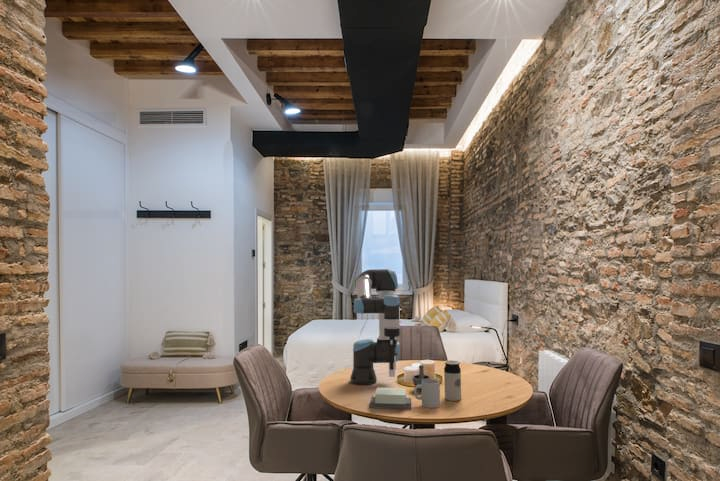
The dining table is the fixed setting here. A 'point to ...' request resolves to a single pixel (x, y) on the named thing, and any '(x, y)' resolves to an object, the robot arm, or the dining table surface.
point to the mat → (384, 405)
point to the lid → (390, 395)
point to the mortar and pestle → (420, 377)
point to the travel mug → (452, 380)
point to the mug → (429, 393)
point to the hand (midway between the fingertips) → (392, 372)
